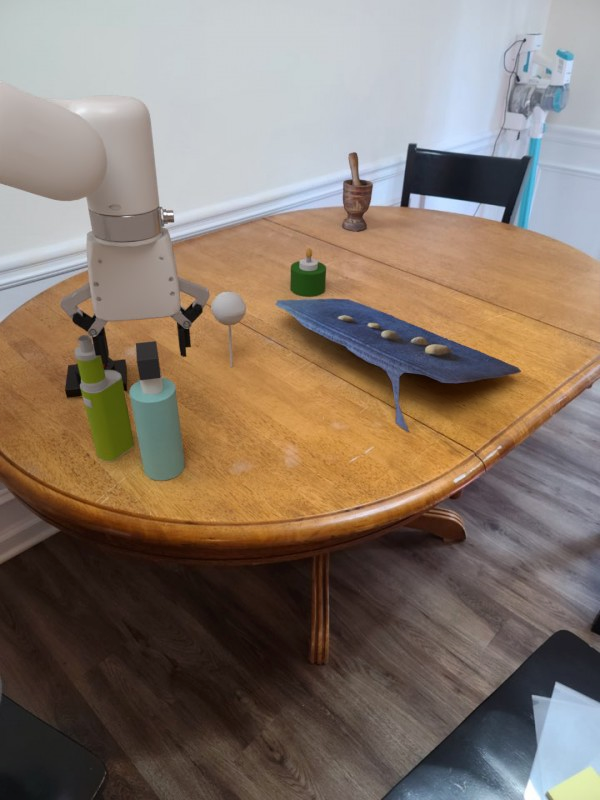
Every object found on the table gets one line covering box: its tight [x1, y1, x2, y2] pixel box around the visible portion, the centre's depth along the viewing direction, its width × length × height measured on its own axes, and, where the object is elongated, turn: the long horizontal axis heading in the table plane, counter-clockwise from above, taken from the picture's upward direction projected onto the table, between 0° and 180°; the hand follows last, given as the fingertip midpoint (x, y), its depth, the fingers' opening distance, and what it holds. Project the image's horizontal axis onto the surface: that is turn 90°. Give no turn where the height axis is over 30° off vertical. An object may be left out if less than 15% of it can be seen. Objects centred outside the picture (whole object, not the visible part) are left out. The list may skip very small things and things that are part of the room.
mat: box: [275, 298, 522, 434], centre depth 109 cm, size 45×27×12 cm, turn 42°
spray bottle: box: [128, 340, 186, 482], centre depth 77 cm, size 6×6×20 cm
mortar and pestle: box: [341, 151, 374, 233], centre depth 166 cm, size 12×9×20 cm
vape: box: [73, 334, 135, 463], centre depth 80 cm, size 4×6×20 cm, turn 147°
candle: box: [289, 248, 327, 298], centre depth 131 cm, size 8×8×10 cm
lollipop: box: [210, 290, 247, 368], centre depth 101 cm, size 6×6×15 cm
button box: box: [64, 357, 128, 399], centre depth 100 cm, size 10×8×4 cm
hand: (144, 355), depth 72 cm, fingers open, 9 cm apart
